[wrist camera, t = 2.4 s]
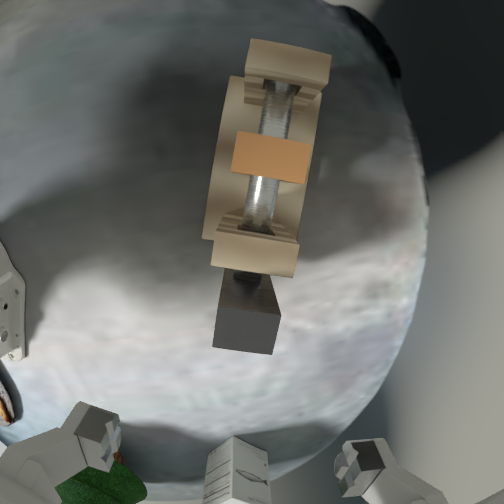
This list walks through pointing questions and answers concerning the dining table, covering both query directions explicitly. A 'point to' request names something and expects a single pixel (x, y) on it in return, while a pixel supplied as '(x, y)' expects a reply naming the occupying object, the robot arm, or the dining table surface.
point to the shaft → (260, 221)
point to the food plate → (6, 407)
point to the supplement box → (237, 474)
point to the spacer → (270, 157)
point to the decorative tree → (103, 486)
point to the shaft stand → (236, 185)
